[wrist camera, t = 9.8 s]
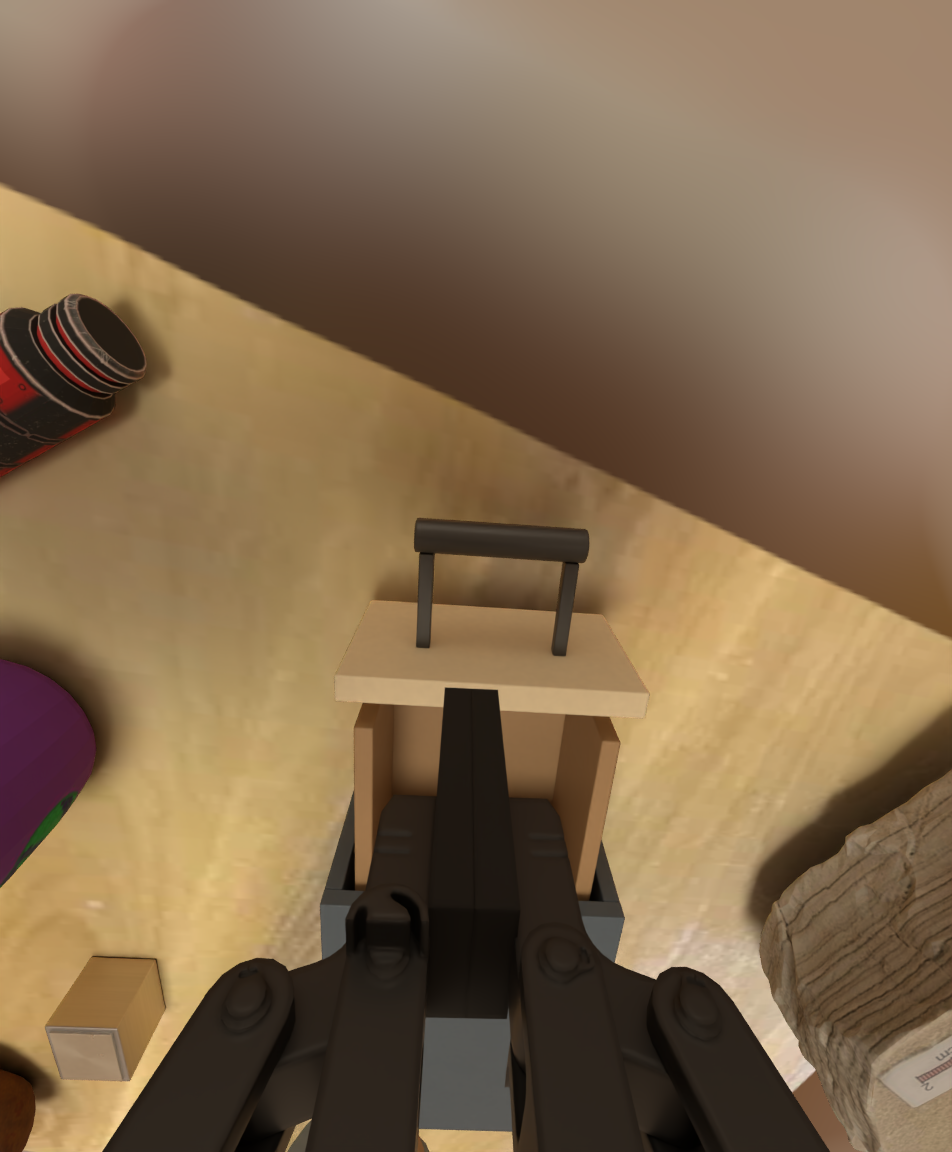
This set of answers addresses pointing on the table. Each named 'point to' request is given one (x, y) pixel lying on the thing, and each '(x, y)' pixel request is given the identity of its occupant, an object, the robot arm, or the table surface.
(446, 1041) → the cabinet
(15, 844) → the mug
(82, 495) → the table surface
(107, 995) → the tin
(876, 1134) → the rock sample
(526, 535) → the drawer
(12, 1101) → the potato
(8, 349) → the grenade
